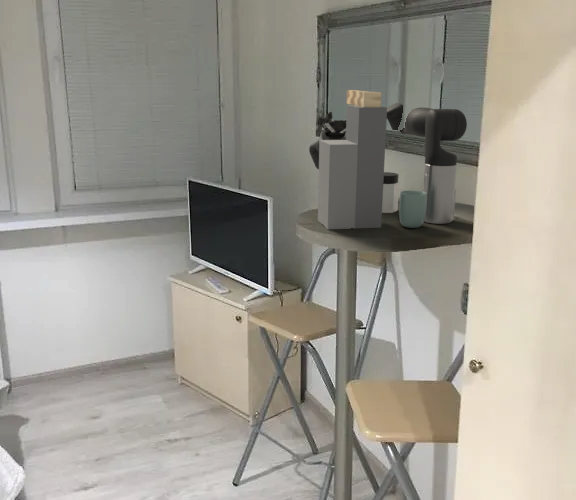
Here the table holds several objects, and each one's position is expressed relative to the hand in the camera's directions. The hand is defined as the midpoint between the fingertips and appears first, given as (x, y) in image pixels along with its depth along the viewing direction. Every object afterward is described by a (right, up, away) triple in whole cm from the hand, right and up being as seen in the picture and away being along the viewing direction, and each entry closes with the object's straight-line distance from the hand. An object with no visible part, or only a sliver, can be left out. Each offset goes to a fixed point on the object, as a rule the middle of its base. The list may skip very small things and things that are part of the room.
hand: (343, 114), depth 206 cm
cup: (+18, -36, -16) cm, 44 cm away
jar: (+13, -30, +5) cm, 34 cm away
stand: (0, -35, -14) cm, 38 cm away
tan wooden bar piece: (+3, -1, -16) cm, 17 cm away
